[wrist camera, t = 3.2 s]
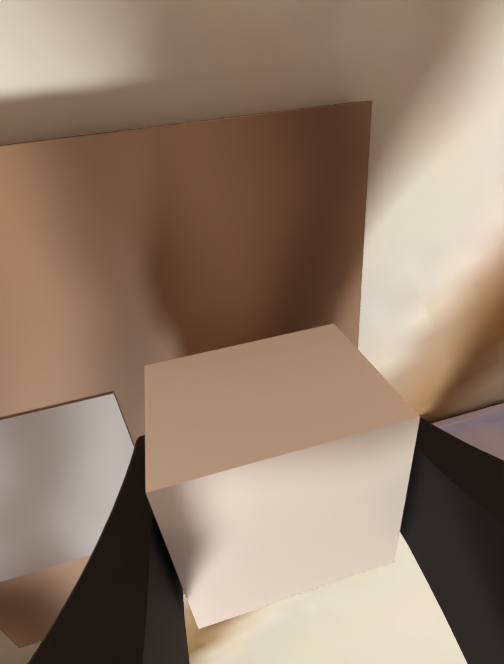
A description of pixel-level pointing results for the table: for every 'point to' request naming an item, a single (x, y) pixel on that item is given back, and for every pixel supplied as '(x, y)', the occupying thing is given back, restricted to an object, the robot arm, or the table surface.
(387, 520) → the cream cube
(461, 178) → the table surface
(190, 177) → the board
